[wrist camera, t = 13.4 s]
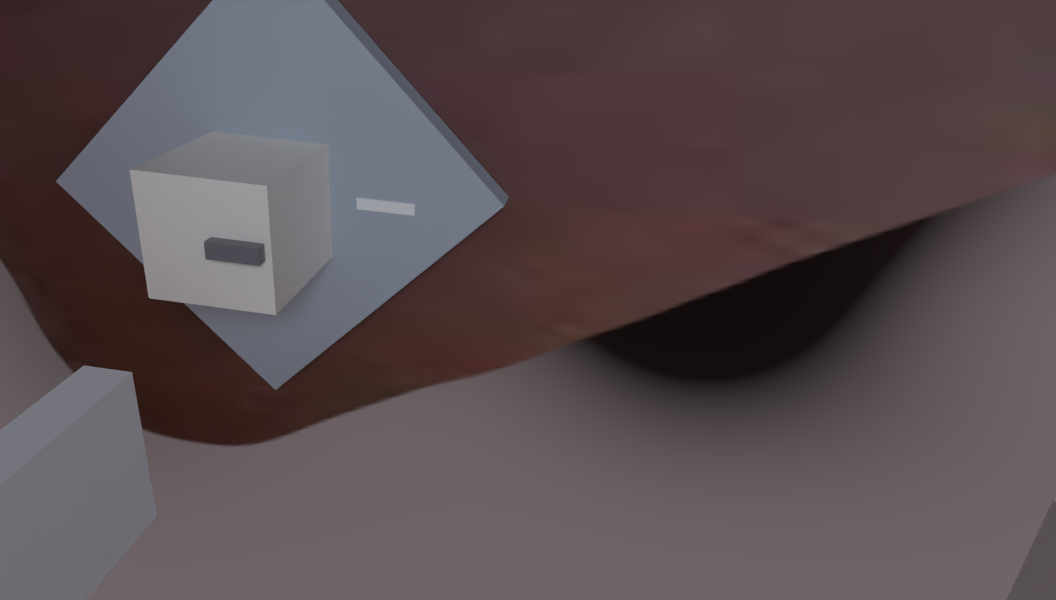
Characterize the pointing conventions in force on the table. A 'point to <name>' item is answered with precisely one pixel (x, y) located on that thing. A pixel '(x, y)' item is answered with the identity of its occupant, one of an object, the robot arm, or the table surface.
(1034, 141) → the table surface
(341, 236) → the plate
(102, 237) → the table surface
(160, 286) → the white box
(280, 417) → the table surface
